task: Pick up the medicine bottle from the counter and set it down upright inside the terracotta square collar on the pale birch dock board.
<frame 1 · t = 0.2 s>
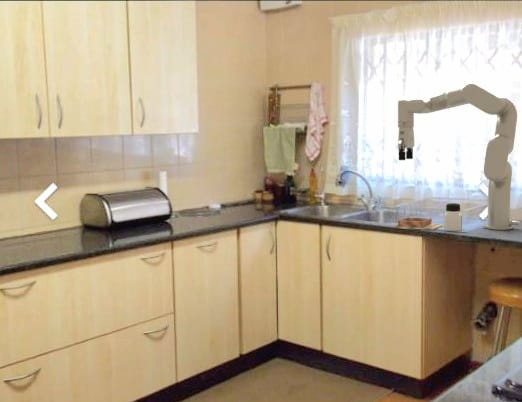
hand: (405, 159, 317), 31 cm above the countertop, tool pointing down, fingers open, 9 cm apart
medicine bottle: (452, 230, 295), on the countertop
dock board: (418, 227, 304), on the countertop
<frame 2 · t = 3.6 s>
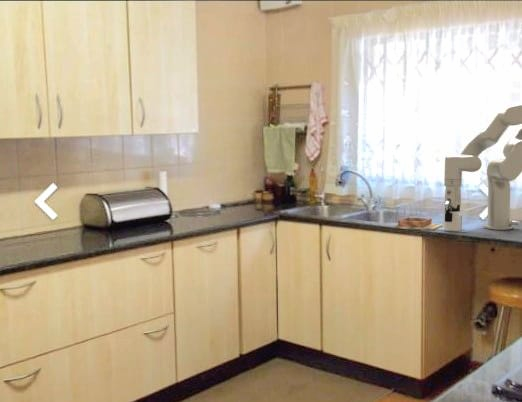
hand: (451, 220, 295), 4 cm above the countertop, tool pointing down, fingers open, 9 cm apart
medicine bottle: (452, 230, 295), on the countertop, touching gripper
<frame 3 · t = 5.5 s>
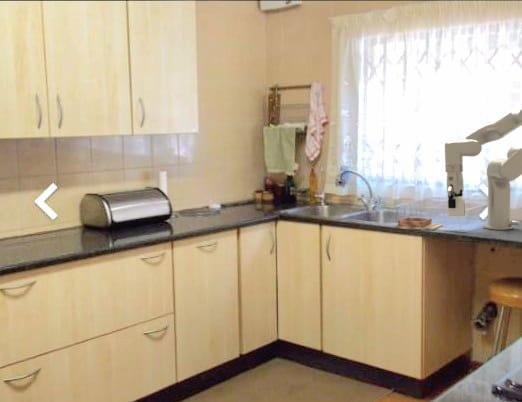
hand: (455, 206, 294), 11 cm above the countertop, tool pointing down, fingers closed on medicine bottle, 8 cm apart
medicine bottle: (456, 215, 294), point 7 cm above the countertop, touching gripper
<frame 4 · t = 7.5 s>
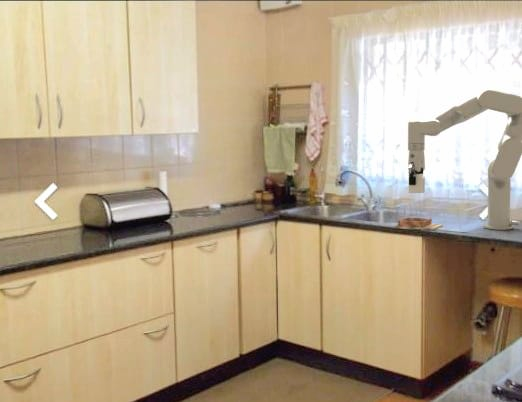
hand: (415, 184, 302), 20 cm above the countertop, tool pointing down, fingers closed on medicine bottle, 8 cm apart
medicine bottle: (416, 192, 303), point 16 cm above the countertop, touching gripper
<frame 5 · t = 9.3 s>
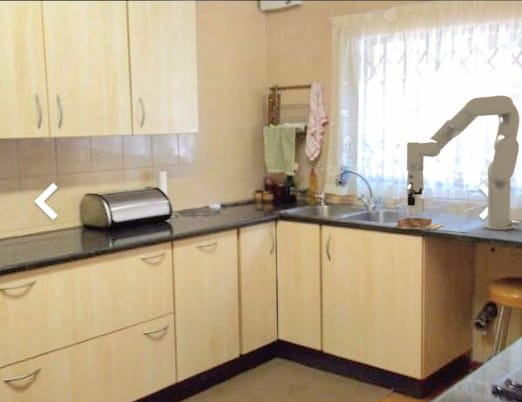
hand: (414, 204, 304), 11 cm above the countertop, tool pointing down, fingers closed on medicine bottle, 8 cm apart
medicine bottle: (415, 212, 304), point 7 cm above the countertop, touching gripper
when the fingers open (6 cm above the countertop, at t = 10.9 s): medicine bottle drops 1 cm, resting on dock board.
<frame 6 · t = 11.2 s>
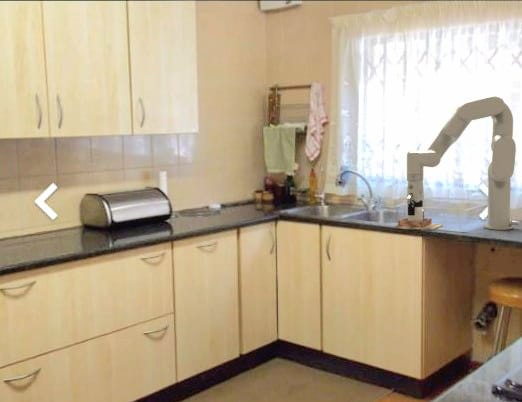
hand: (414, 213, 304), 6 cm above the countertop, tool pointing down, fingers open, 9 cm apart
medicine bottle: (416, 225, 305), point 1 cm above the countertop, touching dock board
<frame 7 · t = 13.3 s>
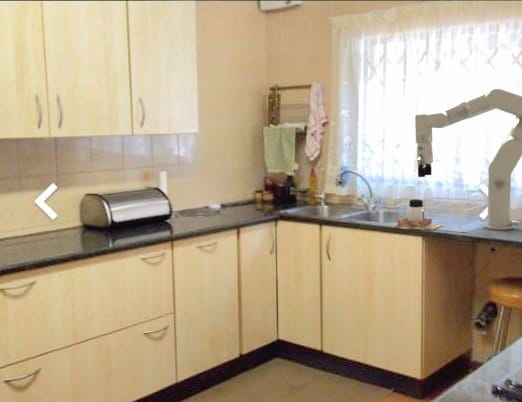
hand: (424, 175, 305), 24 cm above the countertop, tool pointing down, fingers open, 9 cm apart
nothing on the countertop moved.
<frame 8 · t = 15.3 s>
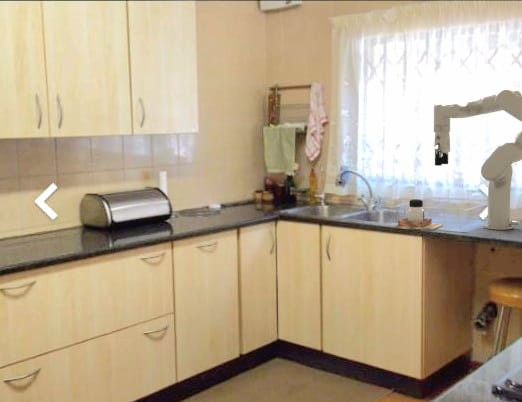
hand: (441, 164, 312), 28 cm above the countertop, tool pointing down, fingers open, 9 cm apart
nothing on the countertop moved.
at the end: medicine bottle 0.5 cm from the target spot on the dock board, point 0.8 cm above the dock board's base; medicine bottle tilted 0°; the gripper is holding nothing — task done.
